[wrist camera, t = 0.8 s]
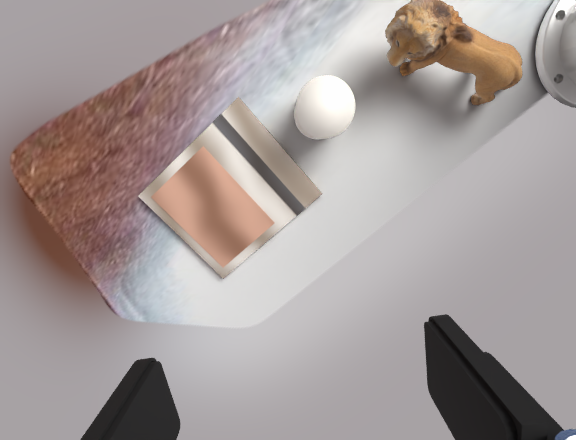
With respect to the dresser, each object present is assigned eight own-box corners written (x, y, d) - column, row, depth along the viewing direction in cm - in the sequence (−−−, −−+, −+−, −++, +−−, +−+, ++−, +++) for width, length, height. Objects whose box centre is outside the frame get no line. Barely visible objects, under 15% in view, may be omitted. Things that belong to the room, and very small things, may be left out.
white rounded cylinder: (321, 77, 30) (329, 61, 24) (351, 116, 31) (367, 110, 25) (284, 112, 30) (283, 104, 25) (315, 149, 31) (321, 150, 26)
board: (239, 98, 30) (238, 97, 29) (321, 192, 33) (322, 194, 32) (141, 194, 32) (137, 196, 32) (224, 275, 35) (223, 279, 34)
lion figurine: (359, 79, 30) (389, 53, 21) (373, 21, 28) (412, -33, 20) (495, 111, 31) (578, 99, 22) (515, 56, 29) (613, 19, 21)
